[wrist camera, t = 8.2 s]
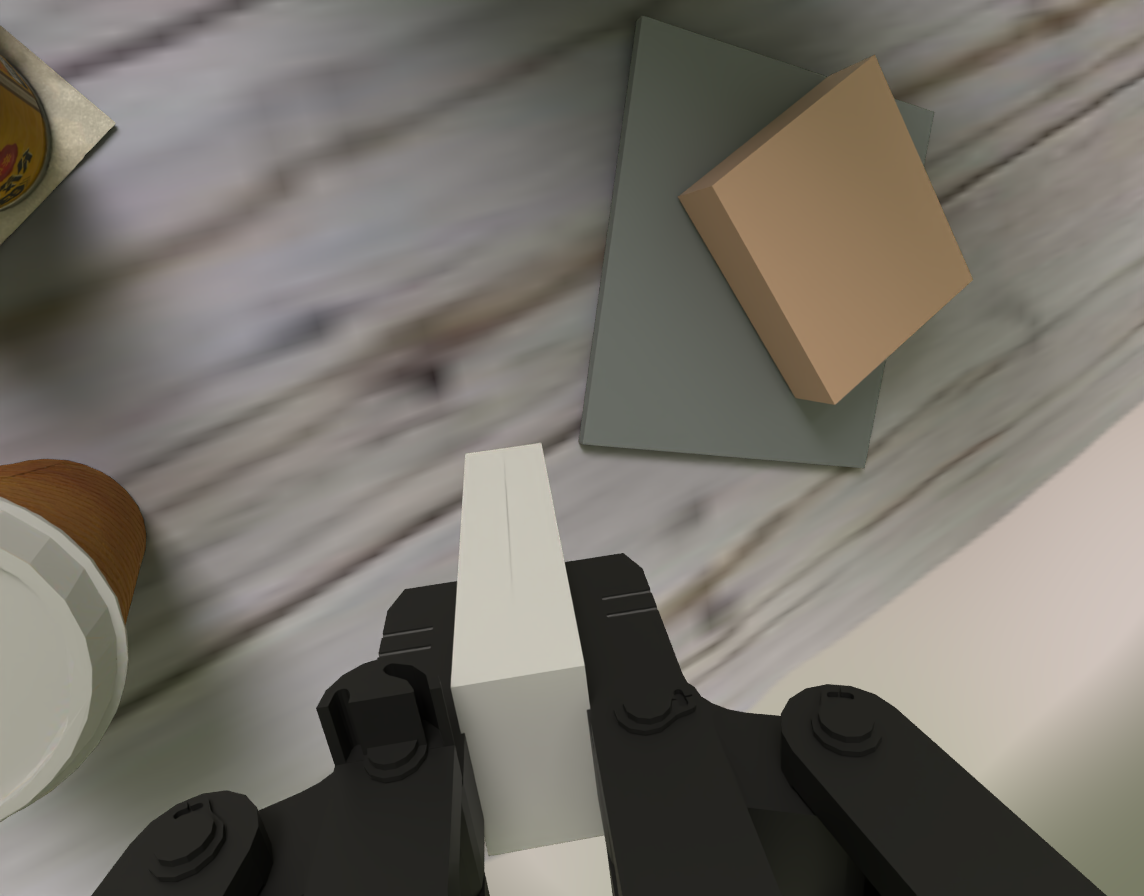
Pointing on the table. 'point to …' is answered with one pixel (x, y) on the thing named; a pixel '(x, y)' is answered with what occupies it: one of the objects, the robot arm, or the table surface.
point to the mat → (701, 272)
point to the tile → (830, 233)
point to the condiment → (38, 131)
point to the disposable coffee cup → (61, 618)
